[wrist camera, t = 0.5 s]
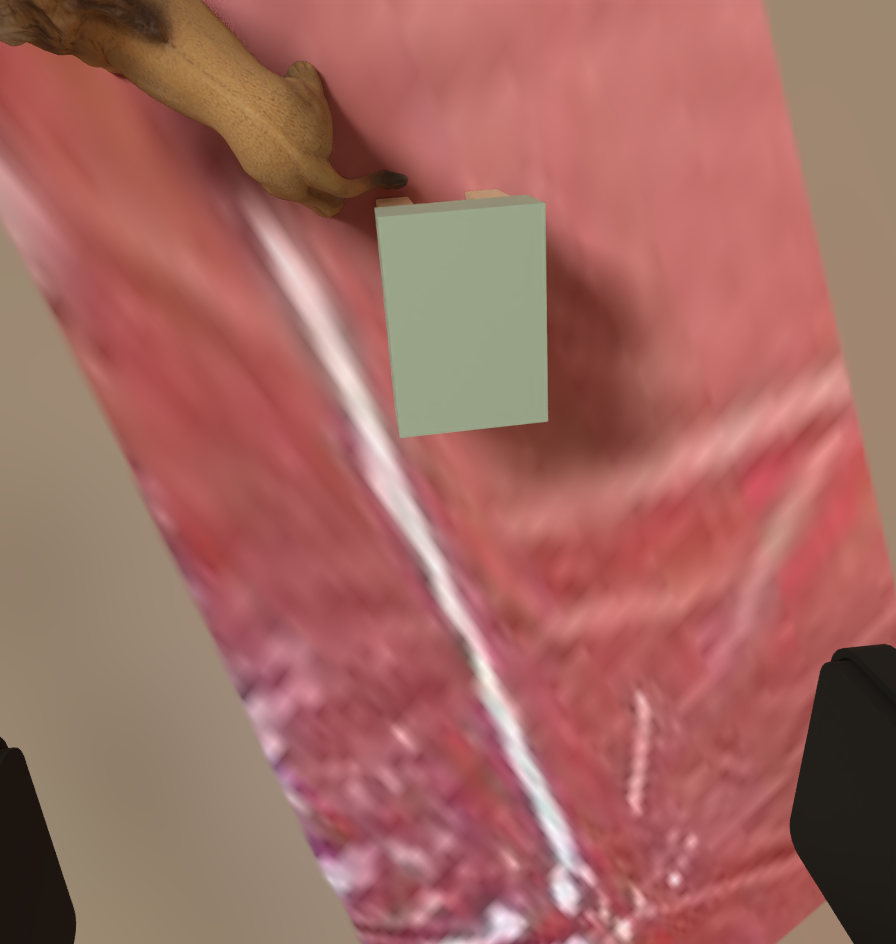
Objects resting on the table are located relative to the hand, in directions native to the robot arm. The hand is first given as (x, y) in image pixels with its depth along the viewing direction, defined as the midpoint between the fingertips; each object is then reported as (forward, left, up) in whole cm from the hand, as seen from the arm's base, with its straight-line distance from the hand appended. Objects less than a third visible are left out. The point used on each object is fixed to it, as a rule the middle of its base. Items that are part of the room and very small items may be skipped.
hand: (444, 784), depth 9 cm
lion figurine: (-9, -5, -24) cm, 26 cm away
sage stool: (-1, +3, -24) cm, 24 cm away
